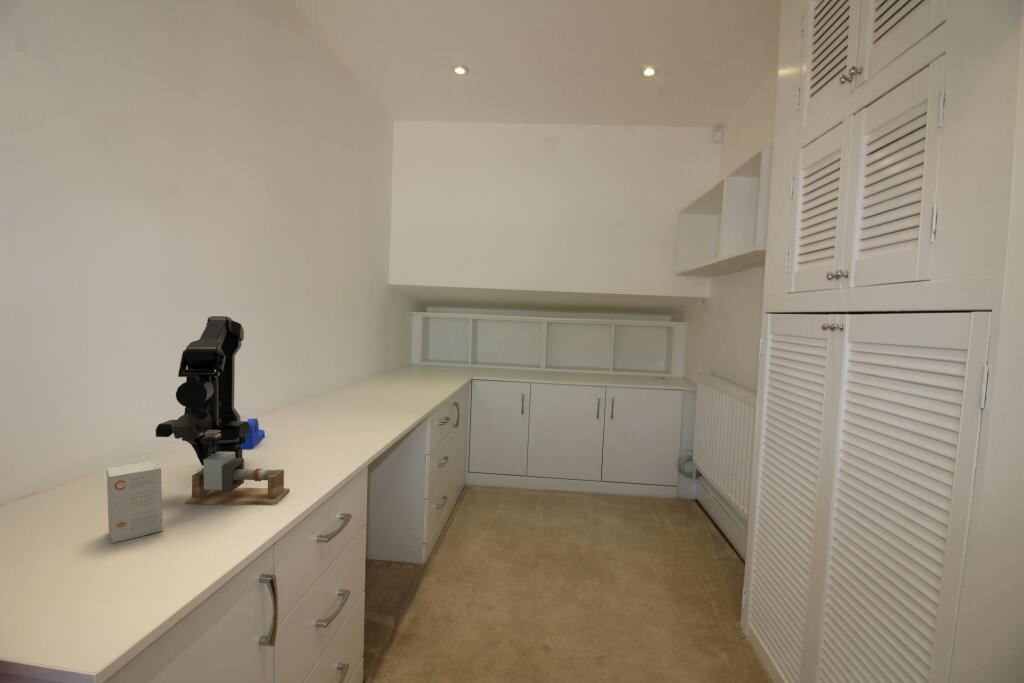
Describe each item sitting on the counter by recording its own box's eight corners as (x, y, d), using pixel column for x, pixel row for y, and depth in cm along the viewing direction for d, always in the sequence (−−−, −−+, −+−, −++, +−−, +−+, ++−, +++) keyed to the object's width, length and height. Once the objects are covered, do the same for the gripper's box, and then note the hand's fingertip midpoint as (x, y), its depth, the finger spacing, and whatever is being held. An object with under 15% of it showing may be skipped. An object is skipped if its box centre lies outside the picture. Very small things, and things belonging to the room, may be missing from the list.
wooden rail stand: (185, 503, 111) (184, 473, 110) (205, 490, 119) (205, 462, 118) (275, 504, 112) (274, 474, 111) (289, 491, 120) (289, 463, 119)
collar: (221, 491, 112) (221, 466, 112) (235, 482, 118) (235, 458, 118) (230, 491, 112) (230, 466, 112) (244, 482, 118) (243, 458, 118)
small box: (158, 521, 102) (156, 459, 101) (163, 531, 97) (161, 467, 96) (107, 532, 96) (105, 467, 95) (110, 544, 92) (108, 476, 91)
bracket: (252, 449, 153) (252, 421, 153) (223, 450, 151) (223, 422, 151) (267, 434, 171) (267, 409, 170) (241, 435, 169) (240, 409, 168)
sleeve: (203, 489, 112) (203, 459, 111) (218, 480, 118) (218, 451, 117) (221, 489, 112) (221, 459, 111) (235, 480, 118) (235, 451, 117)
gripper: (137, 405, 105) (138, 476, 106) (225, 407, 106) (226, 477, 107) (171, 395, 116) (172, 460, 117) (251, 397, 117) (251, 461, 118)
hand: (204, 465), depth 114 cm, fingers closed
